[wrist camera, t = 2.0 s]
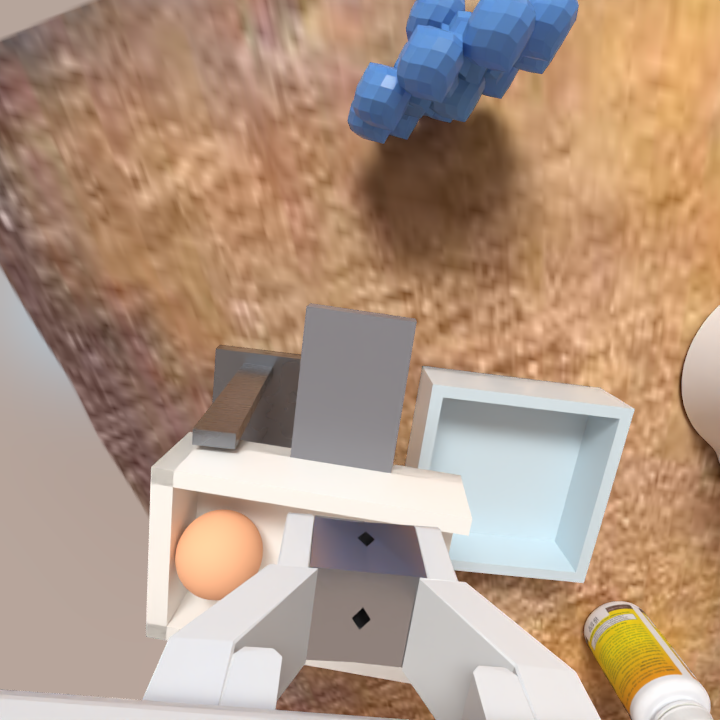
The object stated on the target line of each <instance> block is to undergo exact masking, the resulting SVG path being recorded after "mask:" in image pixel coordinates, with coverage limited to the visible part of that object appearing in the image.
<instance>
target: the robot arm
mask: <svg viewBox="0 0 720 720" xmlns="http://www.w3.org/2000/svg"><path fill="white" fill-rule="evenodd" d="M682 398H683V403H684V407H685V410H686V413H687V416H688V418H689V420H690V422H691V424H692V425H693V427H694V428H695V430H696V431H697V432H698V433H699V435H700V436H701V437H702V438H703V439H704V440H705V441H706V442H708V443H709V444H710V445H711V446H712V448H713V449H714V450H715V452H716V453H717V456H718V460H719V463H720V305H719V306H718V307H717V308H716V309H715V310H714V311H713V312H712V313H711V314H710V316H709V317H708V318H707V319H706V321H705V322H704V323H703V325H702V326H701V328H700V329H699V331H698V332H697V334H696V336H695V337H694V339H693V341H692V343H691V346H690V348H689V350H688V353H687V356H686V360H685V363H684V368H683V374H682ZM306 660H318V661H338V662H355V663H364V664H373V665H382V666H391V667H400V668H402V671H403V672H404V674H405V675H406V677H407V678H408V680H409V681H410V683H411V684H412V686H413V687H414V689H415V690H416V691H417V693H418V694H419V696H420V697H421V699H422V700H423V702H424V703H425V705H426V706H427V707H428V709H429V710H430V712H431V713H432V715H433V716H434V718H435V719H436V720H601V718H600V717H599V715H598V713H597V711H596V709H595V707H594V705H593V703H592V702H591V700H590V698H589V696H588V694H587V692H586V690H585V688H584V686H583V685H582V683H581V681H580V679H579V677H578V675H577V673H576V672H575V671H574V670H573V669H572V668H570V667H569V666H568V665H567V664H565V663H564V662H563V661H562V660H561V659H559V658H558V657H557V656H556V655H554V654H553V653H552V652H551V651H550V650H548V649H547V648H546V647H545V646H543V645H542V644H541V643H540V642H538V641H537V640H536V639H535V638H534V637H532V636H531V635H530V634H529V633H527V632H526V631H525V630H524V629H522V628H521V627H520V626H519V625H518V624H516V623H515V622H514V621H513V620H511V619H510V618H509V617H508V616H507V615H505V614H504V613H503V612H502V611H500V610H499V609H498V608H497V607H495V606H494V605H493V604H492V603H491V602H489V601H488V600H487V599H486V598H484V597H483V596H482V595H481V594H479V593H478V592H477V591H476V590H475V589H473V588H472V587H471V586H470V585H468V584H467V583H466V582H458V579H457V576H456V574H455V571H454V568H453V565H452V562H451V559H450V556H449V553H448V550H447V547H446V544H445V541H444V538H443V536H442V533H441V530H440V529H439V528H438V527H430V526H414V525H399V524H386V523H372V522H364V521H359V520H351V519H343V518H334V517H326V516H318V515H315V516H313V515H312V514H301V513H288V515H287V518H286V523H285V528H284V533H283V538H282V543H281V548H280V553H279V558H278V563H277V564H269V565H267V566H266V567H265V568H263V569H262V570H261V571H259V572H258V573H256V574H255V575H254V576H252V577H251V578H250V579H248V580H247V581H246V582H244V583H243V584H241V585H240V586H239V587H237V588H236V589H235V590H233V591H232V592H231V593H229V594H228V595H226V596H225V597H224V598H222V599H221V600H220V601H218V602H217V603H216V604H214V605H213V606H211V607H210V608H209V609H207V610H206V611H205V612H203V613H202V614H201V615H199V616H198V617H196V618H195V619H194V620H192V621H191V622H190V623H188V624H187V625H186V626H184V627H183V628H181V629H180V630H179V631H177V632H176V633H175V634H173V635H172V636H171V637H169V639H168V642H167V644H166V646H165V649H164V651H163V653H162V656H161V658H160V660H159V663H158V665H157V667H156V670H155V672H154V674H153V676H152V678H151V681H150V683H149V685H148V688H147V690H146V692H145V695H144V697H143V699H142V700H137V699H124V698H123V699H122V698H110V697H97V696H82V695H69V694H56V693H43V692H30V691H29V692H28V691H15V690H3V689H0V720H407V719H393V718H380V717H366V716H353V715H340V714H326V713H313V712H299V711H286V710H276V704H277V700H278V699H279V698H280V696H281V695H282V694H283V692H284V691H285V690H286V688H287V687H288V686H289V684H290V683H291V682H292V680H293V679H294V678H295V676H296V675H297V674H298V672H299V671H300V670H301V668H302V667H303V666H304V664H305V663H306Z"/></svg>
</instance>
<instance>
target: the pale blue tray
mask: <svg viewBox="0 0 720 720" xmlns="http://www.w3.org/2000/svg"><path fill="white" fill-rule="evenodd" d="M634 410H635V409H634V408H632V407H631V406H629V405H627V404H626V403H624V402H622V401H621V400H619V399H618V398H616V397H614V396H613V395H611V394H609V393H608V392H606V391H604V390H603V389H601V388H596V387H588V386H580V385H572V384H564V383H556V382H548V381H540V380H532V379H524V378H516V377H508V376H500V375H492V374H484V373H476V372H468V371H460V370H452V369H444V368H436V367H428V366H422V371H421V377H420V383H419V388H418V394H417V400H416V406H415V411H414V417H413V423H412V429H411V434H410V440H409V446H408V452H407V457H406V463H405V466H406V467H412V468H419V469H425V470H431V471H437V472H444V473H450V474H456V475H461V479H462V482H463V486H464V490H465V494H466V498H467V501H468V505H469V509H470V513H471V516H472V523H471V528H470V532H469V536H467V535H461V534H455V533H453V536H452V541H451V545H450V550H449V556H450V559H451V562H452V565H453V568H454V570H458V571H468V572H478V573H488V574H498V575H508V576H518V577H528V578H538V579H549V580H559V581H569V582H579V583H584V580H585V577H586V574H587V570H588V567H589V563H590V560H591V557H592V553H593V550H594V546H595V543H596V539H597V536H598V533H599V529H600V526H601V522H602V519H603V516H604V512H605V509H606V505H607V502H608V498H609V495H610V492H611V488H612V485H613V481H614V478H615V475H616V471H617V468H618V464H619V461H620V457H621V454H622V451H623V447H624V444H625V440H626V437H627V434H628V430H629V427H630V423H631V420H632V417H633V413H634Z"/></svg>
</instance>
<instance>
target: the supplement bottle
mask: <svg viewBox="0 0 720 720" xmlns="http://www.w3.org/2000/svg"><path fill="white" fill-rule="evenodd" d="M584 637H585V640H586V642H587V644H588V646H589V648H590V650H591V651H592V653H593V655H594V657H595V658H596V660H597V662H598V663H599V665H600V667H601V669H602V670H603V672H604V674H605V675H606V677H607V679H608V680H609V682H610V684H611V685H612V687H613V689H614V691H615V692H616V694H617V696H618V697H619V699H620V701H621V702H622V704H623V706H624V708H625V709H626V711H627V713H628V714H629V716H630V718H631V720H713V718H712V716H711V714H710V699H709V696H708V694H707V692H706V690H705V689H704V687H703V686H702V685H701V683H700V682H699V681H698V680H697V678H696V677H695V676H694V674H693V673H692V672H691V671H690V669H689V668H688V667H687V666H686V664H685V663H684V662H683V660H682V659H681V658H680V657H679V655H678V654H677V653H676V652H675V650H674V649H673V648H672V646H671V645H670V644H669V643H668V641H667V640H666V639H665V638H664V636H663V635H662V634H661V633H660V631H659V630H658V629H657V628H656V626H655V625H654V624H653V622H652V621H651V620H650V619H649V617H648V616H647V615H646V614H645V613H644V612H643V610H641V609H640V608H639V607H638V606H636V605H634V604H632V603H629V602H624V601H614V602H609V603H606V604H603V605H601V606H599V607H598V608H597V609H595V610H594V611H593V612H592V613H591V614H590V616H589V617H588V619H587V621H586V623H585V627H584Z"/></svg>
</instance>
